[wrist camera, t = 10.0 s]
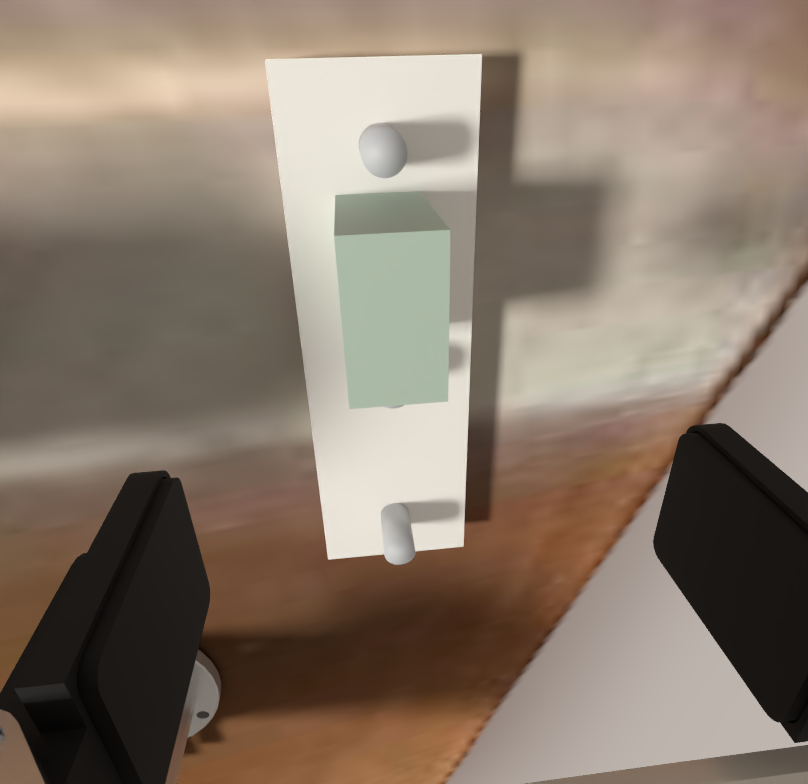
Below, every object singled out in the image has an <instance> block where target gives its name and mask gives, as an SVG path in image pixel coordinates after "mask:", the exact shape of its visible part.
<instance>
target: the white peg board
mask: <svg viewBox="0 0 808 784" xmlns="http://www.w3.org/2000/svg"><path fill="white" fill-rule="evenodd" d="M265 65H266V73H267V81H268V89H269V96H270V104H271V112H272V120H273V128H274V136H275V144H276V152H277V159H278V167H279V175H280V183H281V191H282V199H283V207H284V215H285V223H286V230H287V238H288V246H289V254H290V262H291V270H292V278H293V286H294V294H295V301H296V309H297V317H298V325H299V333H300V341H301V349H302V357H303V365H304V372H305V380H306V388H307V396H308V404H309V412H310V420H311V428H312V435H313V443H314V451H315V459H316V467H317V475H318V483H319V491H320V499H321V506H322V514H323V522H324V530H325V538H326V546H327V554H328V559H339V558H349V557H360V556H370V555H381V554H384V555H385V558H386V560H387V561H388V562H390V563H392V564H396V565H401V564H405V563H408V562H409V561H411V560H412V559H413V558H414V556H415V551H422V550H433V549H443V548H454V547H463V545H464V519H465V492H466V466H467V440H468V413H469V387H470V360H471V334H472V308H473V281H474V255H475V229H476V202H477V176H478V150H479V123H480V97H481V70H482V54H461V55H420V56H378V57H337V58H296V59H265ZM413 191H421V193H422V194H423V195H424V196H425V198H426V199H427V200H428V202H429V203H430V204H431V205H432V207H433V208H434V209H435V211H436V212H437V213H438V214H439V216H440V217H441V218H442V220H443V221H444V222H445V223H446V225H447V226H448V227H449V229H450V311H449V378H448V402H435V403H422V404H409V405H396V406H383V407H370V408H357V409H349V399H348V388H347V376H346V365H345V354H344V342H343V331H342V320H341V309H340V297H339V286H338V275H337V264H336V252H335V241H334V219H335V195H349V194H371V193H392V192H413Z"/></svg>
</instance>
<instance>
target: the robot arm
mask: <svg viewBox="0 0 808 784" xmlns="http://www.w3.org/2000/svg"><path fill="white" fill-rule="evenodd" d="M653 543H654V549H655V553H656V555H657V557H658V559H659V560H660V562H661V563H662V564H663V566H664V567H665V569H666V570H667V571H668V573H669V575H670V576H671V577H672V579H673V580H674V581H675V583H676V584H677V586H678V587H679V589H680V590H681V592H682V593H683V595H684V596H685V597H686V599H687V600H688V602H689V603H690V605H691V606H692V607H693V609H694V610H695V612H696V613H697V615H698V616H699V618H700V619H701V620H702V622H703V623H704V624H705V626H706V628H707V629H708V631H709V632H710V633H711V635H712V636H713V638H714V639H715V641H716V642H717V643H718V645H719V646H720V648H721V649H722V651H723V652H724V653H725V655H726V656H727V658H728V659H729V661H730V662H731V663H732V665H733V666H734V668H735V669H736V671H737V672H738V674H739V675H740V676H741V678H742V679H743V681H744V682H745V683H746V685H747V687H748V688H749V689H750V691H751V692H752V694H753V695H754V696H755V698H756V699H757V701H758V702H759V704H760V705H761V707H762V708H763V709H764V711H765V712H766V713H767V715H768V716H769V717H770V718H771V719H773V720H774V721H776V722H780V723H781V724H782V726H783V727H784V728H785V730H786V731H787V733H788V734H789V736H790V737H791V738H792V740H793V741H794V743H798V742H805V741H808V492H806V491H805V490H804V489H803V488H802V487H800V486H799V485H798V484H797V483H796V482H795V481H793V480H792V479H791V478H790V477H789V476H788V475H786V474H785V473H784V472H783V471H782V470H780V469H779V468H778V467H777V466H776V465H774V464H773V463H772V462H771V461H770V460H769V459H767V458H766V457H765V456H764V455H763V454H761V453H760V452H759V451H758V450H757V449H756V448H754V447H753V446H752V445H751V444H750V443H748V442H747V441H746V440H745V439H744V438H742V437H741V436H740V435H739V434H738V433H737V432H735V431H734V430H733V429H732V428H731V427H729V426H728V425H726V424H722V423H717V424H705V425H694V426H691V427H690V428H689V429H688V430H687V432H686V434H683V435H682V436H681V437H680V438H679V441H678V444H677V448H676V452H675V456H674V460H673V464H672V468H671V472H670V476H669V480H668V484H667V488H666V491H665V495H664V499H663V503H662V507H661V511H660V515H659V519H658V523H657V527H656V531H655V535H654V540H653ZM209 602H210V586H209V582H208V578H207V574H206V571H205V567H204V564H203V560H202V556H201V553H200V549H199V545H198V542H197V538H196V534H195V531H194V527H193V523H192V520H191V516H190V513H189V509H188V505H187V502H186V498H185V494H184V491H183V487H182V484H181V481H180V479H179V478H170V475H169V474H168V472H167V471H152V472H140V473H132V474H130V475H129V477H128V478H127V480H126V481H125V483H124V485H123V487H122V489H121V491H120V493H119V494H118V496H117V498H116V500H115V502H114V504H113V506H112V507H111V509H110V511H109V513H108V515H107V517H106V519H105V521H104V522H103V524H102V526H101V528H100V530H99V532H98V534H97V535H96V537H95V539H94V541H93V543H92V545H91V547H90V548H89V550H88V552H87V553H83V554H82V555H80V556H79V557H77V559H76V560H75V561H74V563H73V564H72V565H71V567H70V569H69V571H68V573H67V574H66V576H65V578H64V580H63V582H62V583H61V585H60V587H59V589H58V591H57V592H56V594H55V596H54V598H53V600H52V601H51V603H50V605H49V607H48V609H47V610H46V612H45V614H44V616H43V618H42V619H41V621H40V623H39V625H38V627H37V628H36V630H35V632H34V634H33V636H32V637H31V639H30V641H29V643H28V644H27V646H26V648H25V650H24V652H23V653H22V655H21V657H20V659H19V661H18V662H17V664H16V666H15V668H14V670H13V671H12V673H11V675H10V677H9V679H8V680H7V682H6V684H5V686H4V688H3V689H2V691H1V693H0V784H177V781H178V777H179V772H180V768H181V764H182V759H183V755H184V751H185V746H186V742H187V738H189V737H191V736H193V735H194V734H196V733H197V732H198V731H200V730H201V729H202V728H204V727H205V726H206V725H207V724H208V723H209V722H210V720H211V719H212V718H213V716H214V714H215V713H216V711H217V709H218V704H219V700H220V695H221V680H220V676H219V673H218V671H217V669H216V668H215V666H214V664H213V663H212V661H211V660H210V659H209V658H208V657H207V656H206V655H205V654H204V653H203V652H201V651H200V650H199V649H198V648H199V644H200V640H201V636H202V632H203V628H204V624H205V620H206V615H207V611H208V607H209ZM526 784H808V745H805V746H797V747H791V748H783V749H775V750H767V751H760V752H752V753H745V754H737V755H730V756H723V757H715V758H707V759H701V760H693V761H685V762H678V763H670V764H663V765H655V766H648V767H641V768H634V769H626V770H619V771H612V772H605V773H597V774H591V775H583V776H576V777H568V778H562V779H554V780H547V781H540V782H533V783H526Z"/></svg>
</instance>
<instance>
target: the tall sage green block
mask: <svg viewBox="0 0 808 784" xmlns="http://www.w3.org/2000/svg"><path fill="white" fill-rule="evenodd" d="M334 241H335V252H336V264H337V275H338V286H339V297H340V309H341V320H342V331H343V342H344V354H345V365H346V376H347V388H348V399H349V409H357V408H370V407H383V406H396V405H409V404H422V403H435V402H448V378H449V311H450V229H449V227H448V226H447V225H446V223H445V222H444V221H443V220H442V218H441V217H440V216H439V214H438V213H437V212H436V211H435V209H434V208H433V207H432V205H431V204H430V203H429V202H428V200H427V199H426V198H425V196H424V195H423V194H422V193H421V191H413V192H392V193H371V194H349V195H335V219H334Z"/></svg>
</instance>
